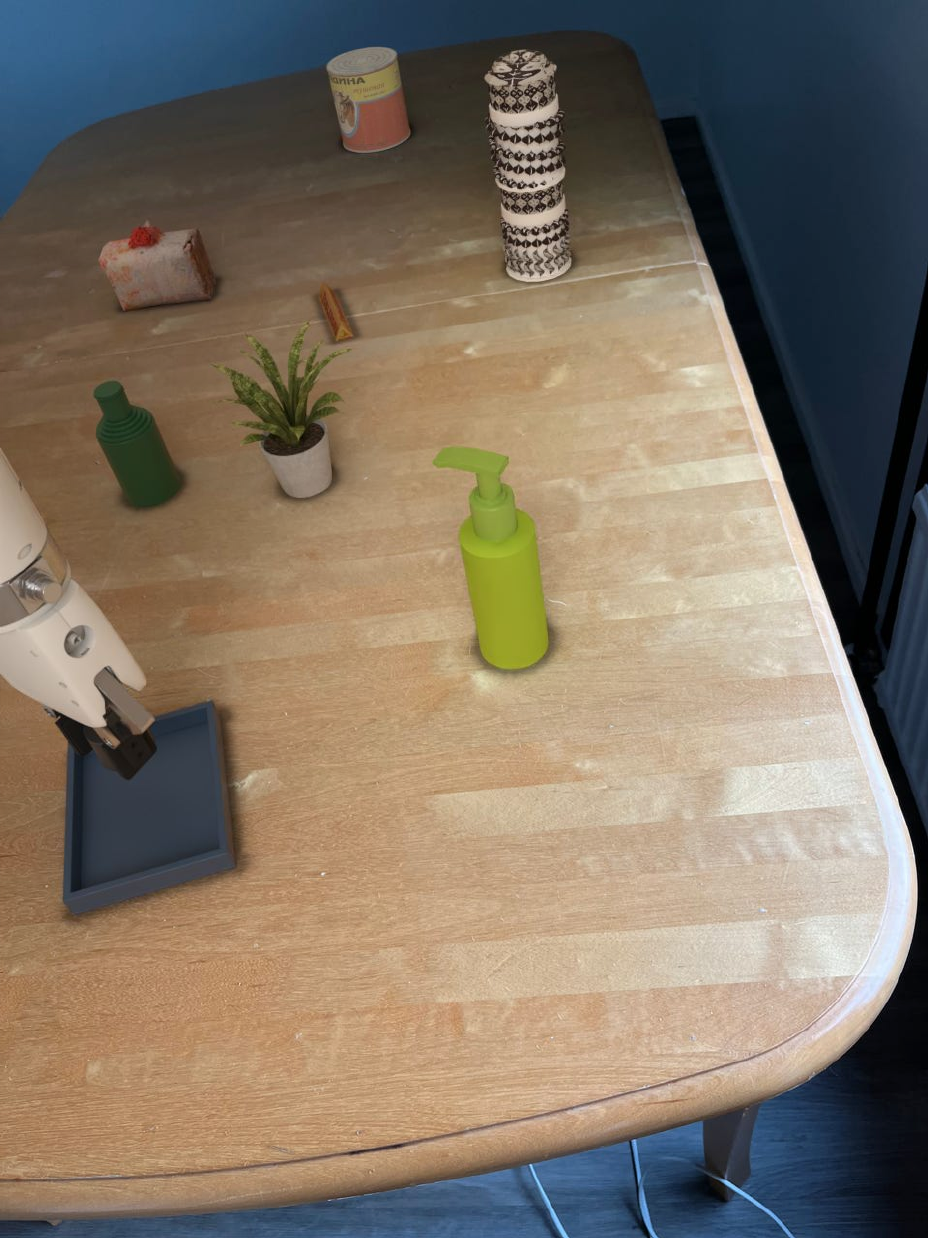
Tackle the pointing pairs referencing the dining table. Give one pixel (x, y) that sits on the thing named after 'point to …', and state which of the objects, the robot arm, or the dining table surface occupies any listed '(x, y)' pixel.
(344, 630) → the dining table surface
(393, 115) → the canned food
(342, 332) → the chocolate bar
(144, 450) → the bottle
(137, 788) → the tray
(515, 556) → the soap dispenser
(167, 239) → the food item
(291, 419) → the house plant
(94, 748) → the cap
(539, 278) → the decorative candle
